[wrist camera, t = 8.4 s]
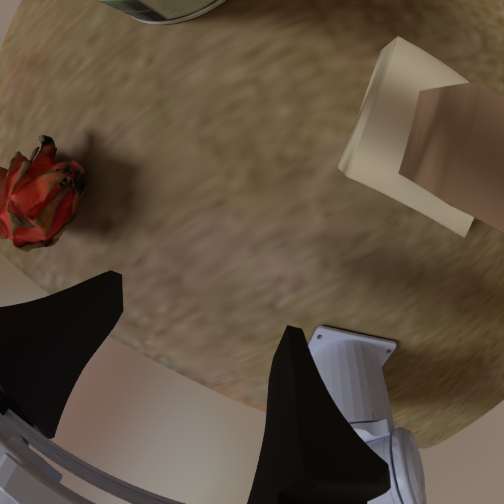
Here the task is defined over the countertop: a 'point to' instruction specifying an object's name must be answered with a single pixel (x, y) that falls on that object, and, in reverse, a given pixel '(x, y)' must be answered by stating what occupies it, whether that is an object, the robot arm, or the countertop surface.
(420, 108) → the walnut block
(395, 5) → the countertop surface
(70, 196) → the dragon fruit
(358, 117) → the birch base block
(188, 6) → the coffee can
